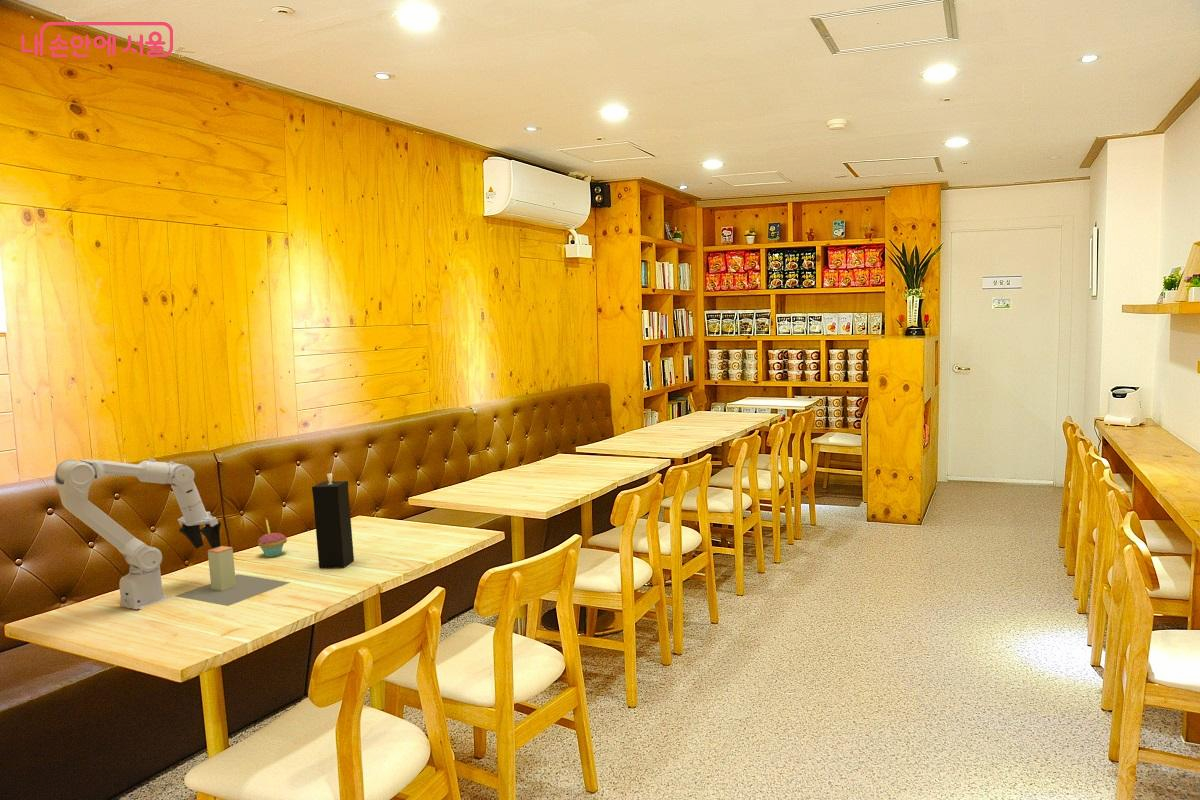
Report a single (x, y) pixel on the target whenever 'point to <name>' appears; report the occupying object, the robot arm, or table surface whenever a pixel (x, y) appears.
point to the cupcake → (272, 543)
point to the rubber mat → (233, 590)
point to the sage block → (221, 568)
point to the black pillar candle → (333, 523)
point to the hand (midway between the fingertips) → (208, 547)
